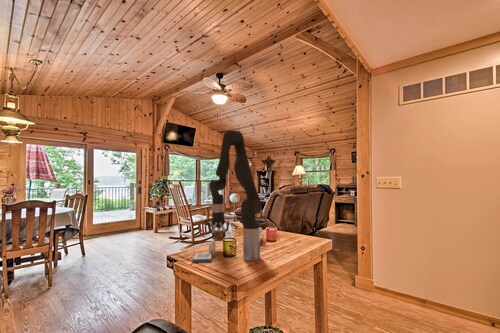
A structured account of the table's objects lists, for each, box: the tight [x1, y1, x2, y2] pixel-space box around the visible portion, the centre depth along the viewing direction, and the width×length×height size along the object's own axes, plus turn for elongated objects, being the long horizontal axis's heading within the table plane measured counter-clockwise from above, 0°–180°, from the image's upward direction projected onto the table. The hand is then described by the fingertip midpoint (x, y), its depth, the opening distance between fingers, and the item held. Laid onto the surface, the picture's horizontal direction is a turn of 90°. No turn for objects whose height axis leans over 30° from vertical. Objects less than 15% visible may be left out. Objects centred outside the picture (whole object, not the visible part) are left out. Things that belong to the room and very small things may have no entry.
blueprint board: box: [191, 252, 214, 263], centre depth 136 cm, size 10×10×2 cm
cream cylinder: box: [208, 241, 216, 255], centre depth 145 cm, size 4×4×6 cm
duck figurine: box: [260, 227, 265, 240], centre depth 168 cm, size 12×8×11 cm
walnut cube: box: [213, 229, 225, 242], centre depth 152 cm, size 6×6×6 cm
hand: (218, 238), depth 152 cm, fingers closed on walnut cube, 5 cm apart
